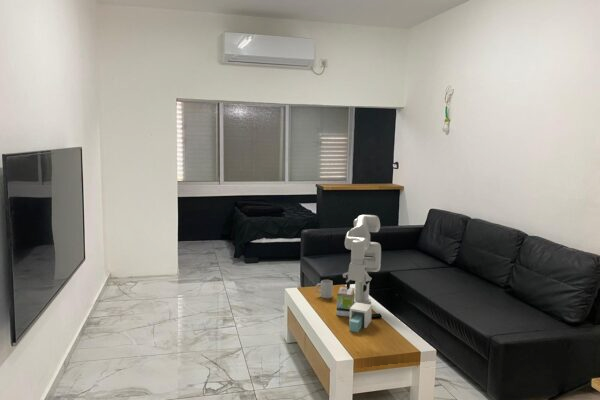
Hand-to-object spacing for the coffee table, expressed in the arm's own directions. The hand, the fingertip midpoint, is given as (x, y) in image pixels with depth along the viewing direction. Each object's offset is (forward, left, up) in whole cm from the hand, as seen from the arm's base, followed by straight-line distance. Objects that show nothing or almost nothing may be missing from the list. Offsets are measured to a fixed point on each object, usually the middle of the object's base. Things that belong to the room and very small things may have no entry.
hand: (356, 289), depth 269 cm
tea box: (-24, -14, -25) cm, 37 cm away
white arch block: (-11, 0, -24) cm, 27 cm away
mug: (-46, -37, -25) cm, 64 cm away
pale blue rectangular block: (-3, 0, -25) cm, 25 cm away
